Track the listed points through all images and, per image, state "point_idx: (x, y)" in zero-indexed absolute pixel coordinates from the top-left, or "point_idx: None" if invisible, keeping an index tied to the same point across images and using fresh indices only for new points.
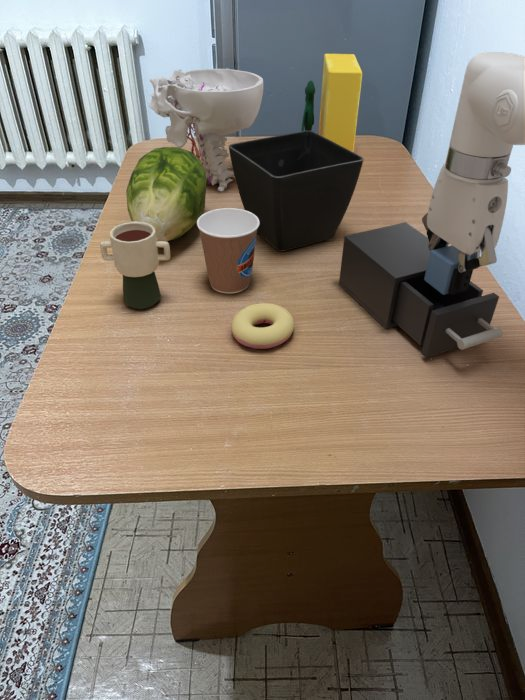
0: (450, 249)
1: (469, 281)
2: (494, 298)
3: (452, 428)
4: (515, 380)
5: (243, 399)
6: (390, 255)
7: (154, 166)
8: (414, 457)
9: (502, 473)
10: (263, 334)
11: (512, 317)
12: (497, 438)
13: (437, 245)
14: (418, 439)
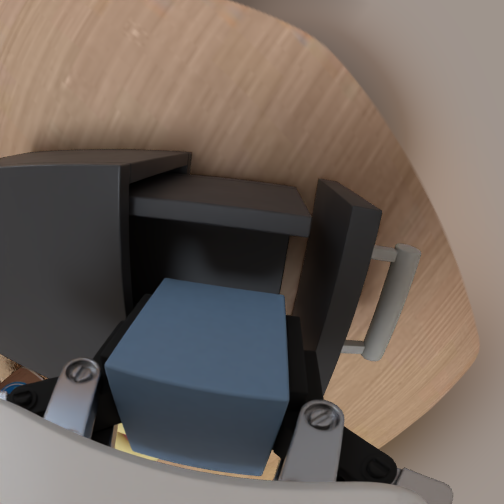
0: (146, 415)
1: (317, 369)
2: (376, 235)
3: (410, 376)
4: (435, 227)
5: (228, 473)
6: (41, 341)
7: None
8: (395, 421)
9: (469, 367)
10: (157, 458)
11: (298, 36)
12: (456, 343)
13: (111, 436)
14: (387, 410)
